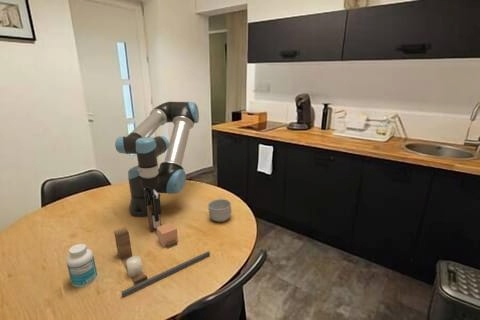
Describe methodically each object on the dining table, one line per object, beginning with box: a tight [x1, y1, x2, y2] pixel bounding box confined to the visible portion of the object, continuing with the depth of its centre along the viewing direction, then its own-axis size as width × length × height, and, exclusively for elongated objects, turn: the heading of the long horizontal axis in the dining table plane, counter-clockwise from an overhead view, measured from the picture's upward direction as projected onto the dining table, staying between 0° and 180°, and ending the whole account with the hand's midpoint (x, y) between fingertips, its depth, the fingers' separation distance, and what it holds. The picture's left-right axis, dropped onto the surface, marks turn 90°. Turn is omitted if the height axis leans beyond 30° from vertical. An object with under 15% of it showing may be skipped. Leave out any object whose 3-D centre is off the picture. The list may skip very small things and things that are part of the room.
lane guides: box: [120, 250, 211, 298], centre depth 97 cm, size 24×31×3 cm
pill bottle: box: [65, 243, 98, 288], centre depth 85 cm, size 8×7×14 cm
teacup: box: [207, 197, 232, 223], centre depth 126 cm, size 14×11×8 cm
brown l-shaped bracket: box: [113, 226, 148, 286], centre depth 91 cm, size 20×4×12 cm, turn 38°
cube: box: [156, 222, 179, 248], centre depth 105 cm, size 6×6×6 cm
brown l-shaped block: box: [147, 205, 178, 249], centre depth 109 cm, size 20×4×12 cm, turn 38°
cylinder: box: [126, 255, 143, 278], centre depth 88 cm, size 4×4×5 cm
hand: (154, 224), depth 116 cm, fingers closed on brown l-shaped block, 4 cm apart
